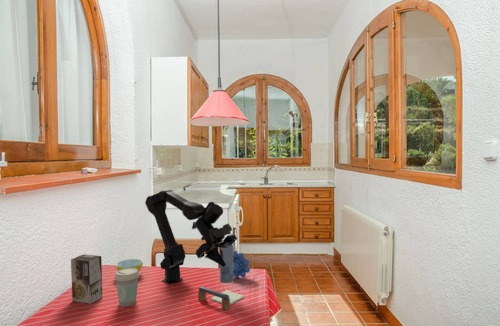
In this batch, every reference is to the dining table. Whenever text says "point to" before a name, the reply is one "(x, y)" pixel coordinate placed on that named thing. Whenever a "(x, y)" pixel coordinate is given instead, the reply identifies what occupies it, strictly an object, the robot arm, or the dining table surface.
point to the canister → (227, 264)
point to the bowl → (129, 264)
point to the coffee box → (86, 278)
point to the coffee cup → (127, 286)
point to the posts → (224, 302)
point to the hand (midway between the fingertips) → (229, 263)
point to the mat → (232, 296)
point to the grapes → (240, 265)
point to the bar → (214, 293)
